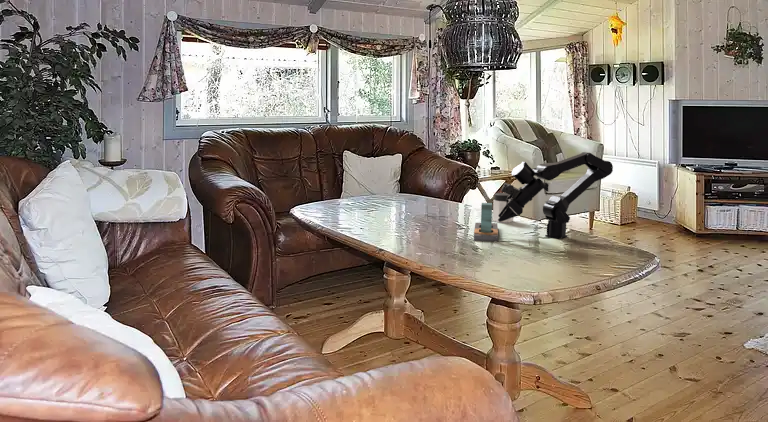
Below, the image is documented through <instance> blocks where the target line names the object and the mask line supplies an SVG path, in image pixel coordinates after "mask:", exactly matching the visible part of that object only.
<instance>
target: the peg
mask: <svg viewBox="0 0 768 422" xmlns="http://www.w3.org/2000/svg"><path fill="white" fill-rule="evenodd" d="M480 208H481V210H480V211H481V212H480V213H481V214H480V223H481V232H491V228H492V223H493V203H492V202H481V207H480Z"/></svg>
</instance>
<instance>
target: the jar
mask: <svg viewBox="0 0 768 422" xmlns="http://www.w3.org/2000/svg"><path fill="white" fill-rule="evenodd" d="M508 196H509V194H507V193H504V192H496V193H494V199H493V203H492V222H496V223H499V224H500V223H505V224H506V223H507V224H508V223H511V222H514V218H515V217H513V218H510V219H507V220H504V221H502V222H499V221H498V219H499V218H500V217H499V216H498V215H499V214H500V212H501V211H502V210H503V208H504V207H505V205H506V200H507V199H508V198H507V197H508ZM508 200H509V199H508Z"/></svg>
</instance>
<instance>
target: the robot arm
mask: <svg viewBox="0 0 768 422" xmlns="http://www.w3.org/2000/svg"><path fill="white" fill-rule="evenodd" d="M584 165H585V166H586V167H587V169H586V172H585V174H584V175H582V176H581V177H580V178H579V179H578V180H577V181H575V183H574V184H572V185H571V186H570V187H569V188H568V189H566V190H565V191H564V192H563V193H562V194H561V195H560V196H556V195H551V196H550V198H549V199H547V200H546V201H544V204H543V206H542V213H543V215H544V216H545V220H547V224H546V234H545V235H544V236H545V237H548V238H553V239H558V240H559V239H563V238H568V237H567V236H568V235H569V234H567V224H568V223H569V221H570V220H571V217H570V216H569V214H567V212H568V209H569V206H570V205H571V204H572V203H573V202H575V200H576V199H577V198H578V197H580V196H581V195H582V194H583V193H585V191H586V190H587V189H589V188H590V187H592V185H593V184H594V183H595V182H597V181H600V180H603V179H605V178H606V177H608V176H610V175H612V173H613V171H614V170H613V169H614V166H613V163H612V162H611V161H609V160H604V159H602V158H600V157H599V156H596V155H594V154H592V152H586V151H583V152H581V153H578V154H575V155H574V156H570V157H567V158H565V159H562V160H559V161H556V162H545V163H540V164H538V165H537V166H536V167H534V168H531V166H530V165H529V164H528V163H527V162H526V161H521V163H519V164H518V165H516V166H515V167H513V169H512V170H511V176H512V177H514V178H515V179H516V180H517V181H518V182H519V183H520V184H521V185H523V186H520V187H519V188H517V187H515V186H514V185H513V184H510V183H507V182H504V184H503V185H502V188H501V189H500V192H501V193H507V194H509V196H508V197H507V198H508V199H509V200H508V199H507V200H506V205H505V207H504V208H503V210H502V211H501V212H500V214H499V215H498V216H499V217H500V218H499V219H498V221H499V222H502V221H504V220H507V219H510V218H513V217H514V218H515V217H516V218H517V217H519V216H520V215H522V214H523V213H524V208H525V206H526V205H527V204H528V203H529V202H531V201H532V200H533V199H534V198H535V197H536V196H537V195H538V194H539V193H540V192H542V190H545V192H547V193H548V192H549V185H550V184H549V183H548V182H544V181H553V180H554V179H556V178H558V177H559V176H560V175H561V174H562V173H564V172H567V171H569V170H573V169H575V168H578V167H580V166H584ZM535 176H536V177H537V178H536V177H535ZM514 218H513V219H514ZM499 222H498V223H499Z"/></svg>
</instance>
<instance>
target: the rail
mask: <svg viewBox="0 0 768 422" xmlns="http://www.w3.org/2000/svg"><path fill="white" fill-rule="evenodd" d="M474 224H475V225H474V232H473V241H476V242H499V233H498V232H499V231H498V230H499V229H498V222H496V223H495V222H492V228H491V232H481V222H475V223H474Z"/></svg>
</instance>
